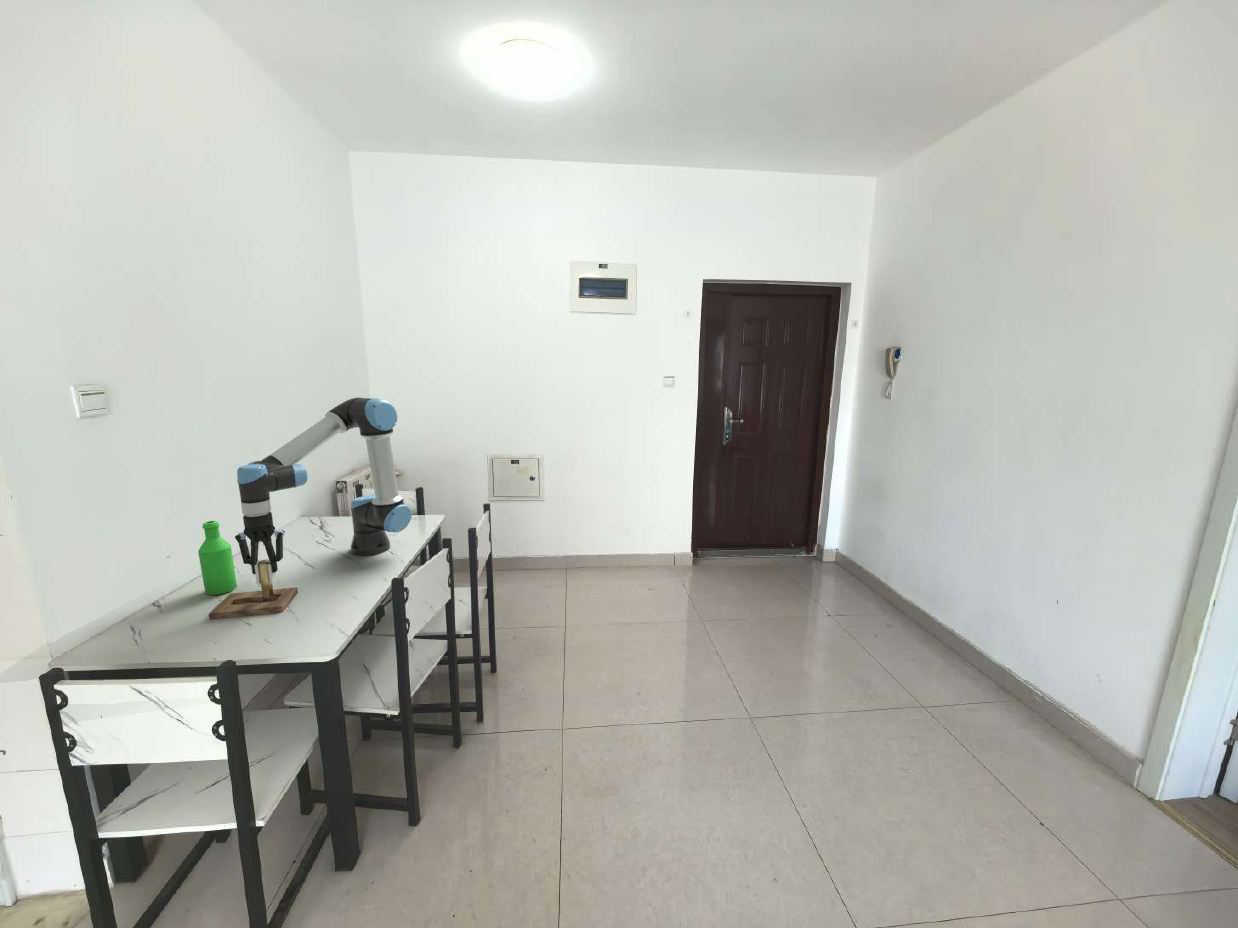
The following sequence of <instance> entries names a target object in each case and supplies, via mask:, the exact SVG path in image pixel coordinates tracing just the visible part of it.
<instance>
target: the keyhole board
mask: <svg viewBox="0 0 1238 928" xmlns="http://www.w3.org/2000/svg"><path fill="white" fill-rule="evenodd" d="M273 592H274V595H273V596H272V597H268V598H263V595H262V590H255V591H244V592H243V591H242V592H231V593H229V594H228V595H227V596H226V597H225V598H223V600H222V601H220V602H219V603H218V604H217V605H216V606H215V607H214V608H213V609H212V610H211V611H210V612H209V613H208V617H209V620H211V621H212V620H217V619H227V618H229V619H230V618H238V617H248V616H259V615H267V614H268V615H269V614H276V613H278V614H279V613H284V612H285V610H286V609H287V608H288V606H289V605H290V604H291V602H292V601H293V600H294V599H295V597H296V596H297V595H298V594H299V590H298V587H297V586H296V587H287V588H286V587H285V588H275V589H274V588H273Z"/></svg>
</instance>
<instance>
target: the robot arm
mask: <svg viewBox="0 0 1238 928" xmlns="http://www.w3.org/2000/svg"><path fill="white" fill-rule="evenodd" d="M397 422H398V411H397V410H396V408H395V406H394V405H393V404H392V403H391V402H390V401H388V400H385V399H381V398H378V397H377V398H372V397H371V398H370V397H369V398H368V397H354V398H350V399H347V400H344V401H343V402H341V403H339V404H338V405H336V406H335V407H333V408H331V409H330V410H328V411H327V412H326V413H325V415H324V417H323V418H321V419H320V420H319V421H318V422H316V423H314V424H313V425H312V426H309V428H307V429H306V430H304V431H303V432H301V433H300V434H298V435H297V436H295V437H294V438H293V439H291V440H290V441H288V442H286V443H285V444H283V445H282V446H281V447H279V448H278V449H276V450H275V451H273V452H272V453H270V454H268V455H267V456H266V457H264V458H262V459H261V460H255V461H250V462H249V463H247V464H245V465H241V466H239V467H238V468H237V470H236V476H237V478H236V479H237V480H236V481H237V485H238V491H239V498H240V505H241V513H242V515H243V516H242V520H243V526H244V529H243V531H242V532H239V533H237V534H236V535H235V536H234V539H235V540H236V541H237V544H238V547H239V551H240V553H241V554H240V555H241V558H242V563H243V564H245V565H250V566H251V573H252V575H255V580H256V585H261V580H260V573H259V565H258V562H259V561H260V560H259V545H260V542H262V544H263V546H264V548H265V551H266V553H267V554H266V555H267V558H268V560H269V561H270V563H269V564H268V572H269V579H270V583H272V584H274V582H276V581H277V579H276V573H277V572H278V570H279V569H278V562H280V561H282V559H283V558H284V542H283V541H284V535H285V533H286V532H285V530H279V529H277V528H276V527H275V526H274V520H273V513H272V512H271V511H272V505H271V496H270V493H274V492H278V491H282V490H288V489H292V488H297V487H301V486H304V485H305V484H306V483H307V482H308V478H309V475H308V471H307V469H306V467H305V466H304V465H303V464H299V463H300V462H301V461H302V460H304V459H305V458H306V457H308V456H309V455H311V454H312V453H313V452H315V451H317V449H319V448H320V447H322V446H323V445H325V444H327V443H328V442H329V441H330V440H332V439H334V438H335V437H336V436H338V435H339V434H345V433H347V432H348V431H349V430H351V429H354V428H355V429H356V428H358V429H359V433H360V436H361V437H362V438H363V439H365V442H366V449H367V456H368V461H369V466H370V474H371V479H372V480H371V481H372V485H373V491H374V494H369V495H364V496H363V495H362V496H358V497H355V498H354V499H351V501H350V511H351V519H352V529H353V535H352V540H351V544H350V553H351V554H353V555H355V556H371V555H377V554H378V555H379V554H380V553H384V552H386V551H387V550H389V549H390V548H391V541H390V539H389V538H390V537H389V536H388V534H387V532H388V533H394V534H395V533H397V534H398V533H400V532H402V531H404V530H405V529H406V528H407V527H408V526H409V525H410V522H411V520H412V517H413V516H412V515H413V513H412V510H411V507H410V506H408V505H406V504H405V500H404V496H403V495H401V494H400V493H399V489H398V483H397V481H398V480H397V476H396V469H395V463H394V456H393V455H394V454H393V449H392V443H391V435H392V434H393V433H394V429H393V428H394V427H395V426H396V423H397ZM273 534H274V537H275V548H274V545H273V542H272V541H273V539H272V536H273ZM246 538H248V539H249V540H250V543H249V544H250V550H249V545H248V542H247V539H246Z"/></svg>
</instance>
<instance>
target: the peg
mask: <svg viewBox="0 0 1238 928" xmlns="http://www.w3.org/2000/svg"><path fill="white" fill-rule="evenodd" d="M257 563H258V565H259V573H260V580H261V584H260V585H261V591H262V595H263V598H268V597H272V596H273V595H274V592H273V589H274V586H273V584H274V583H270V579H269V572H268V564H269V563H270V561H269V559H262V560H259V561H258V562H257Z"/></svg>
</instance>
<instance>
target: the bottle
mask: <svg viewBox="0 0 1238 928" xmlns="http://www.w3.org/2000/svg"><path fill="white" fill-rule="evenodd" d="M220 525H221V524H220V522H219V521H218V520H210V521H206V522H203V523H202V526H201V527H202V529H204V535H205V538H204V541H203V542H202V544H201V546H200V547H199V549H198V558H199V564H200V570H201V576H202V581H203V582H202V583H203V587H204V592H205V593H206V594H208V595H211V596H219V595H223V594H228V593H229V592H232V591H234V589H235V588H236V587H237V584H238V583H237V577H236V571H235V564H234V558H233V557H234V556H233V552H232V545H231V543H229V542H228V541H226V540H225V539H224V538H223V537H221V534H220Z"/></svg>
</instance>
